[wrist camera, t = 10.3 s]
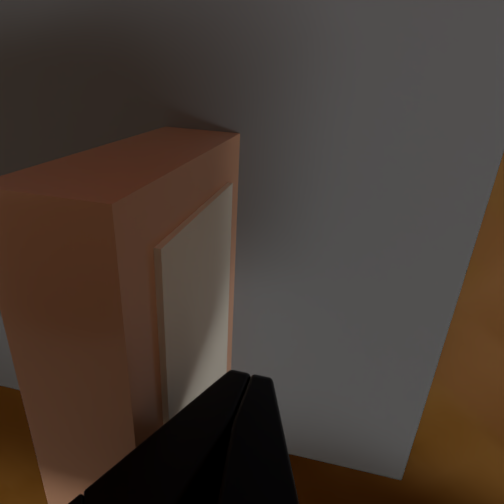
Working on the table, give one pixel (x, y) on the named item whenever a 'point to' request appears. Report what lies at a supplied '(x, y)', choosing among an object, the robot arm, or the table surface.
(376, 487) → the table surface
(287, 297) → the mat
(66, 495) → the tile
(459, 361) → the table surface
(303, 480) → the table surface
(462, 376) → the table surface
